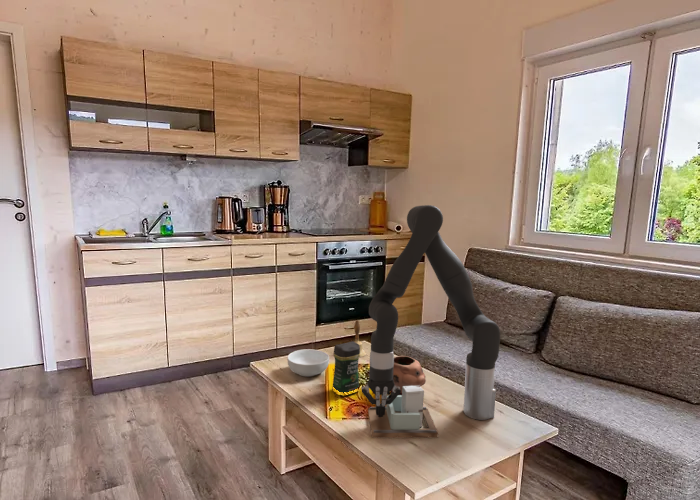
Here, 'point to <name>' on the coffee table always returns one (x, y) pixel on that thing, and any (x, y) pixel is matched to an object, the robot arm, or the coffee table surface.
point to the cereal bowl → (308, 362)
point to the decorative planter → (407, 372)
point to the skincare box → (412, 400)
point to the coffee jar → (346, 367)
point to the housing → (401, 416)
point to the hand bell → (357, 329)
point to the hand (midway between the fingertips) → (380, 415)
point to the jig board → (383, 430)
